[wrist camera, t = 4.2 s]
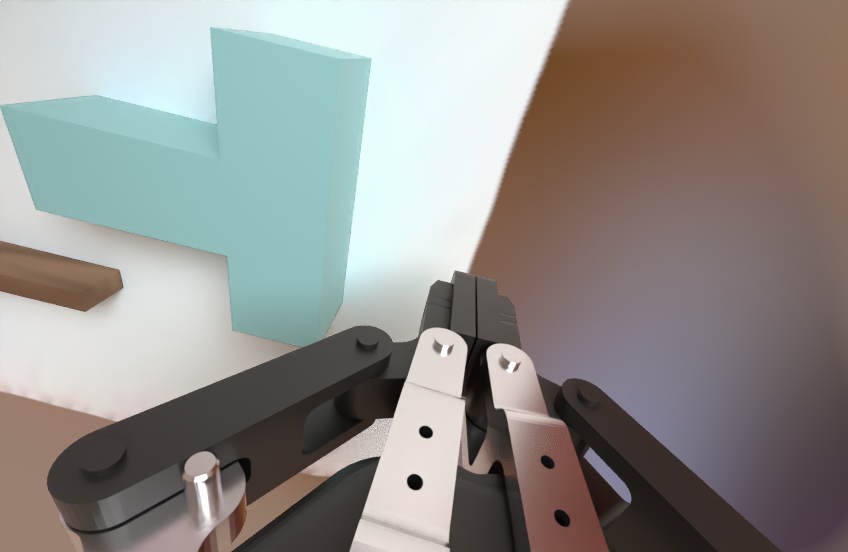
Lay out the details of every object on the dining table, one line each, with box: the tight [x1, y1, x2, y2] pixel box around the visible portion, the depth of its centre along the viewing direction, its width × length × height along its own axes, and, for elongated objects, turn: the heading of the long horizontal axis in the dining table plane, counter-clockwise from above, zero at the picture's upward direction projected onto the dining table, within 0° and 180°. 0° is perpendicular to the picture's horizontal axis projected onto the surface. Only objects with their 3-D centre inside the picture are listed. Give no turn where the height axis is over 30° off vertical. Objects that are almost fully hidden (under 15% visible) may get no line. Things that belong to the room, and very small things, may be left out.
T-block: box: [0, 27, 371, 347], centre depth 16 cm, size 12×12×4 cm
